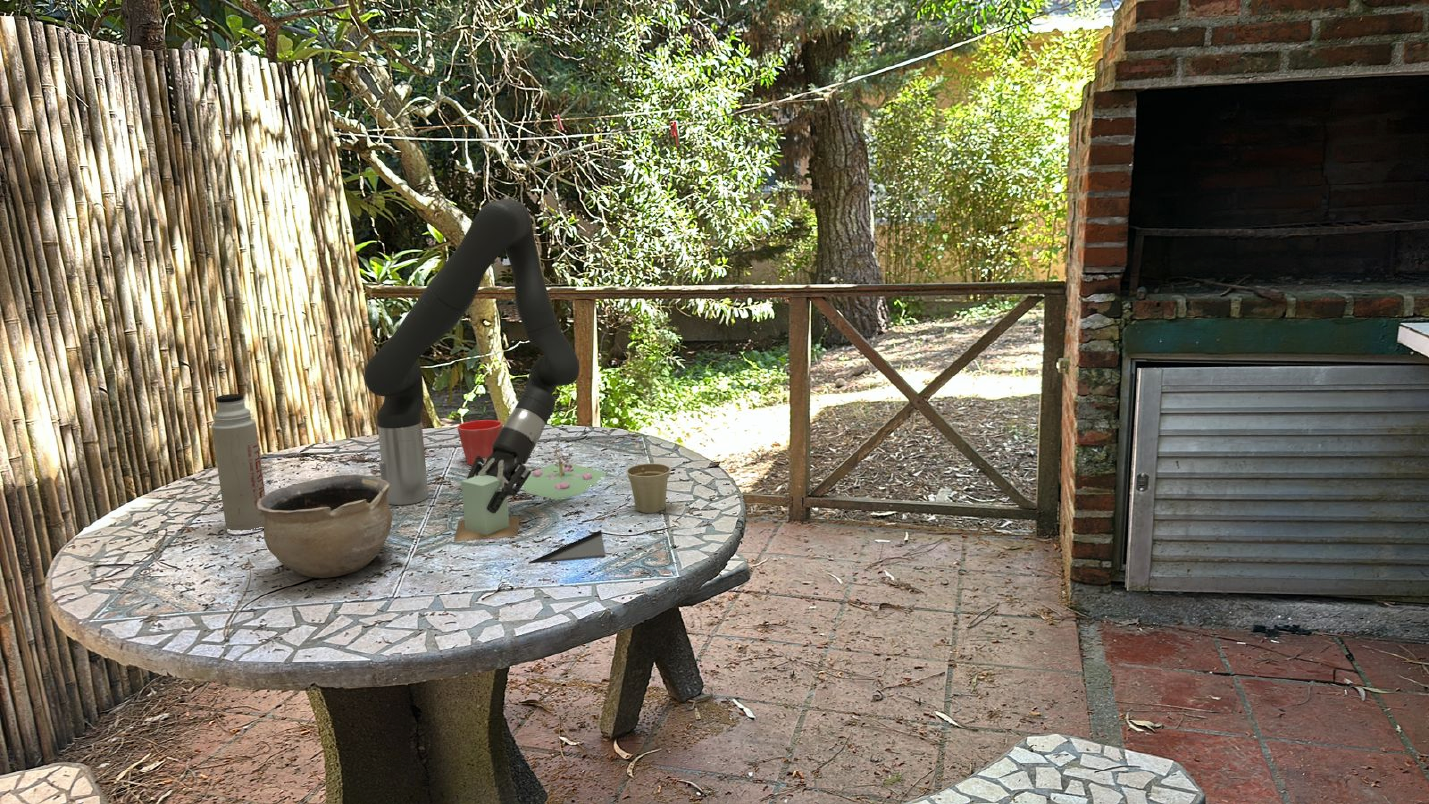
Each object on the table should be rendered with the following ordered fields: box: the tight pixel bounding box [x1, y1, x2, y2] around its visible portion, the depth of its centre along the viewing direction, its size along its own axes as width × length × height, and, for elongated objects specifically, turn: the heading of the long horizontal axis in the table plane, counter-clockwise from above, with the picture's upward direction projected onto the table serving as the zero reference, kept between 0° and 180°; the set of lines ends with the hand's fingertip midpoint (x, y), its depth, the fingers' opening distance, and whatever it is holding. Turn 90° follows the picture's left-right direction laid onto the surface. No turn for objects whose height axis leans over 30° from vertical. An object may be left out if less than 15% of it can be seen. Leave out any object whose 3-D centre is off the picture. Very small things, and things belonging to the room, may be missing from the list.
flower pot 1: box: [457, 419, 504, 467], centre depth 244 cm, size 11×11×10 cm
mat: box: [527, 529, 606, 564], centre depth 187 cm, size 14×14×1 cm
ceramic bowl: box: [257, 474, 393, 579], centre depth 177 cm, size 22×22×15 cm
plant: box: [522, 443, 607, 501], centre depth 225 cm, size 25×21×9 cm
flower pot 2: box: [625, 462, 672, 514], centre depth 206 cm, size 9×9×9 cm
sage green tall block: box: [460, 473, 509, 535], centre depth 192 cm, size 6×6×10 cm
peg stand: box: [453, 515, 520, 542], centre depth 193 cm, size 12×12×8 cm
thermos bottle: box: [211, 393, 266, 530], centre depth 198 cm, size 8×8×28 cm
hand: (479, 508), depth 191 cm, fingers closed on sage green tall block, 6 cm apart
